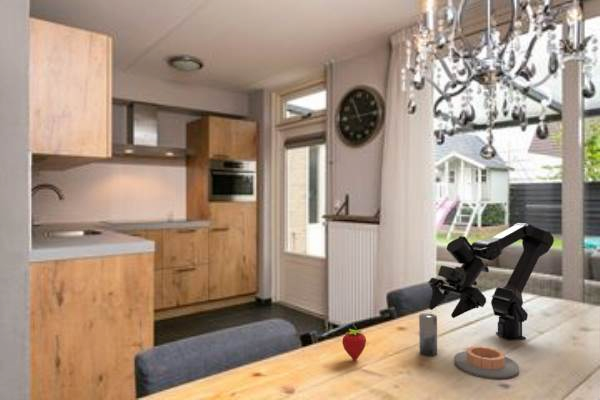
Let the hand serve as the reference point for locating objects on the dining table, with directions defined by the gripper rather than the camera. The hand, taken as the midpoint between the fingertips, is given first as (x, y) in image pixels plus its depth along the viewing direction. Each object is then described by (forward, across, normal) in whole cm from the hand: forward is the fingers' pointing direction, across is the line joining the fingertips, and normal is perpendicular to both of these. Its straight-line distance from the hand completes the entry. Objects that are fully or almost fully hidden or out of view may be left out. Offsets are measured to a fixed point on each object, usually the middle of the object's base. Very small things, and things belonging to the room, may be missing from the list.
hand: (440, 312), depth 117 cm
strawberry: (+28, -5, -11) cm, 30 cm away
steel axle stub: (+11, 0, +5) cm, 12 cm away
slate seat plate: (+6, +13, +10) cm, 18 cm away
